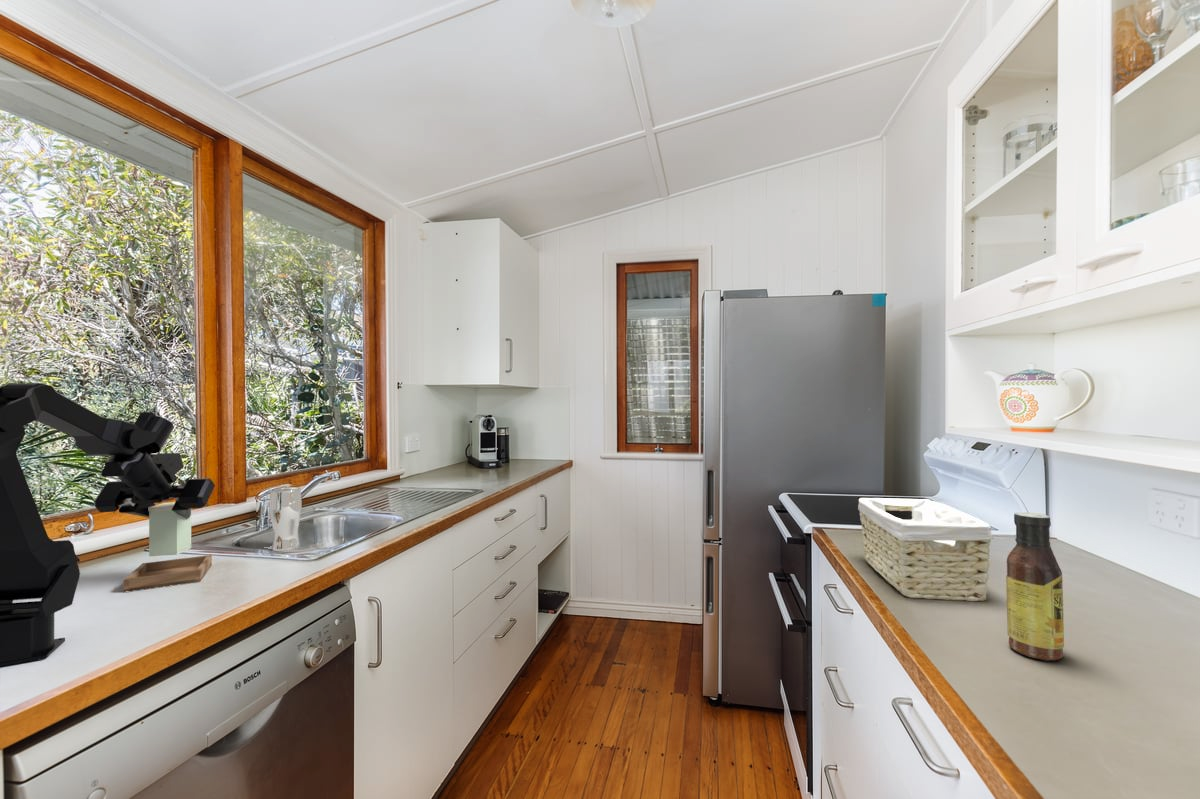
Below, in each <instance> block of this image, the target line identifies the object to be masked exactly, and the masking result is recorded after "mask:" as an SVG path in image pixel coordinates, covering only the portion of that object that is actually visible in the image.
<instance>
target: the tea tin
mask: <svg viewBox="0 0 1200 799" xmlns="http://www.w3.org/2000/svg"><path fill="white" fill-rule="evenodd" d="M174 504H175V502H174V501H173V502H161V503H160V504H155V506H152V507H148V511H149V518H148V519H149V520H148V524H149V525H148V528H149V529H148V535H149V536H148V547H149V548H148V557H158V556H159V557H162V556H178V555H179V554H182V553H184V552H186V551H188V550H190V549H192V514H191V515H190V517H189V518H184V517H182V516H181V515H179V514H177V513H175V512H174V511H172V508H173V506H174Z"/></svg>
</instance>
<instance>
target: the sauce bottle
mask: <svg viewBox="0 0 1200 799" xmlns="http://www.w3.org/2000/svg"><path fill="white" fill-rule="evenodd" d="M1013 519H1014V520H1013V523H1014V525H1015V532H1016V533H1015V535H1016V537H1015V539H1014V540H1015V542H1016V544H1015V546H1014V547H1013V548H1012V549H1011V551H1010V552H1009V554H1008V555H1007V557H1006V574H1007V575H1006V576H1005V579H1006V580H1005V581H1006V619H1007V620H1006V622H1007V623H1006V624H1007V626H1006V627H1007V636H1008V637H1009V638H1008V643H1009V647H1010V648H1011V649H1012V650H1014V651H1016V652H1017V653H1019V654H1021V655H1024V656H1026V657H1029V658H1033V659H1039V660H1043V661H1058V660H1061V659H1062V658H1063V656H1064V650H1063V649H1064V647H1065V629H1064V628H1065V627H1064V625H1065V624H1064V590H1063V588H1064V587H1063V586H1064V585H1063V582H1064V581H1063V571H1062V570H1061V568H1060V565H1059V563H1058V561H1057V559H1056V556H1055V554H1054V551H1053V549H1052V548H1051V543H1050V542H1051V541H1050V527H1051V526H1052V525H1051V516H1049V515H1046V514H1041V513H1036V512H1015V513H1014V515H1013Z"/></svg>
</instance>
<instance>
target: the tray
mask: <svg viewBox="0 0 1200 799" xmlns="http://www.w3.org/2000/svg"><path fill="white" fill-rule="evenodd" d="M212 556H213V555H212V554H210V555H209V554H207V555H201V556H200V555H199V556H191V557H184V558H175V559H167V560H166V559H165V560H161V561H160V560H159V561H158V560H157V561H151V562H143V563H141V564H140V565H139V566H138V567H136V568H135V570H133V571H132V572H131V573H130V574H129V575H128V576H126V577H125V578H123V582H122V583H123V588H122V589H123V590H122V591H123V593H127V592H126V591H130V592H134V591H133V590H137V591H141V590H140V589H144V590H150V589H149V588H151V589H156V588H155V587H158V588H164V587H163V586H166V587H171V586H170V585H173V586H178V584H180V585H185V584H186V583H187V584H192V583H199V582H201V581H203V579H204V577H205V576H206V574H207V573H208V571H209V570H210V568H211V567H212V564H213V563H212V560H213V559H212Z"/></svg>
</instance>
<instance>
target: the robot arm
mask: <svg viewBox="0 0 1200 799" xmlns="http://www.w3.org/2000/svg"><path fill="white" fill-rule="evenodd" d="M35 421H37V422H38V423H41V424H43V425H45V426H47V427H50V428H52V429H54V430H56V431H58V432H60V433H62V434H64V435H67V436H69V437H71V438H72V439H74V446H76V447H77V448H78V449H79V450H80V451H82V452H83V453H84V454H86V455H89V456H92V457H99V456H100V457H101V456H102V457H103V456H104V457H105V456H109V457H108V458H107V460H106V461H105V463H104V466H103V469H102V470H101V473H100V474H101V477H102V478H107V477H108V478H112V477H114V478H115V477H117V478H118V479H119V480H116V481H115V480H114V481H113V480H112V481H107V482H106V483H105V484H104V485H103V487H102V489H101V490H100V492H99V494H98V495H97V496H96V498H95V499H94V500H93V505H94V507H95V508H96V509H97V510H98V512H100V513H115V512H117V511H118V512H119V513H120V514H128V515H133V516H139V517H143V518H147V519H149V511H148V507H152V506H155V505H156V503H157V504H158V503H160V504H161V503H163V502H165V501H166V502H167V501H170V500H171V498H173V499H174V500H175V504H174V506H173V508H172V511H174V512H175V513H177V514H179V515H181V516H182V517H184V518H189V517H190V515H191V516H192V509H202V508H204V507H205V506H206V505H207V504H208V502H209V499H210V497H211V495H212V492H213V491H214V489H215V486H216V485H215V483H214V482H213V480H212V479H211V478H210V477H208V478H206V477H204V478H189V479H188V480H187V481H186V482H182V483H180V484H179V485H172V484H174V483H176V481H177V479H178V477H177V476H176V474H177V473H179V472H180V470H182V469H184V467H185V466H184V462H183V458H182V456H181V453H179V452H171V453H170V452H167V453H164V452H163V453H160V452H161V451H162V449H163V447H164V446H165V444H166V442H167V441H168V439H169V437H170V435H171V434H172V432H173V430H174V428H175V426H174V424H173V422H172V421H169V420H168V419H167V418H164V417H162V416H158V415H155V413H154V411H140V413H139V414H138V416H137V419H136V421H135V423H132V422H129V421H125V420H121V419H114V418H107V417H104V416H101V415H100V414H98V413H96V412H94V411H92V410H91V409H88V408H87V407H85V406H83V405H81V404H79V403H78V402H76V401H74V400H72V399H70V398H68V397H66V396H64V395H63V394H61V393H59V392H58V391H56V390H55V388H54V386H52V385H51V384H46V383H42V382H11V383H9V382H8V383H7V384H3V385H1V386H0V667H3V666H8V665H9V666H10V665H15V664H20V663H27V662H33V661H38V660H43V659H46V658H48V657H49V656H50V655H51V654H52V653H54V652H55V651H56V650H57V649H58V648H59V647H60V646H61V645H62V644H63V643H65V642H66V637H60V638H55V613H57V612H59V611H61V610H63V609H65V608H68V607H70V606H72V605H73V601H74V598H75V595H76V591H77V587H78V583H79V580H80V576H81V575H80V574H81V573H80V572H81V571H80V568H79V562H80V561H81V559H80V558H79V557H78V556H77V554H76V552H75V546H74V544H73V542H71V541H70V540H69V539H64V540H54V539H51V538H50V537H49V535H48V533H47V531H46V529H45V525H44V522H43V520H42V516H41V514H40V513H39V510H38V507H37V504H36V503H35V499H34V497H33V494H32V492H31V488H30V487H29V484H28V481H27V478H26V476H25V474H24V471H23V469H22V466H21V464H20V463H21V462H20V461H19V458H18V456H17V454H18V453H17V451H18V450H19V448H20V445H21V444H22V442H23V440H24V438H25V436H26V431H25V426H26V425H28V424H30V423H33V422H35ZM37 599H40V600H37ZM21 600H22V601H21ZM24 600H33V601H24ZM34 600H35V601H34ZM14 601H21V602H14Z"/></svg>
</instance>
